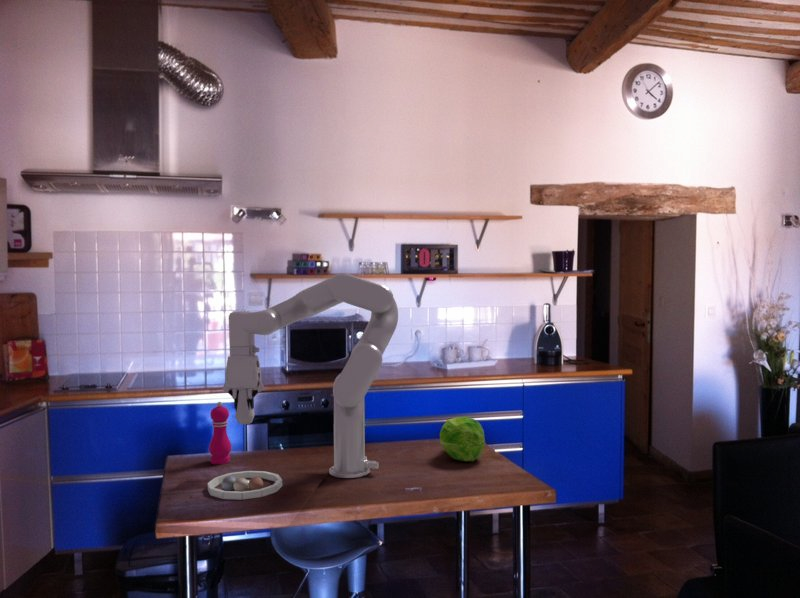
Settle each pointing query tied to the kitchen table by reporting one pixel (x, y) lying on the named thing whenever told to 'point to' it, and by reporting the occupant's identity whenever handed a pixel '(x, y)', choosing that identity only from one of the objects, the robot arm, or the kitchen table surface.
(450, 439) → the lettuce
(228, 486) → the dusty blue bead
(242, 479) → the bead cream
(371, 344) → the robot arm
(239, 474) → the tray
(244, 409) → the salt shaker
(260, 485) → the bead terracotta
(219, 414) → the pepper mill
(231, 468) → the kitchen table surface
